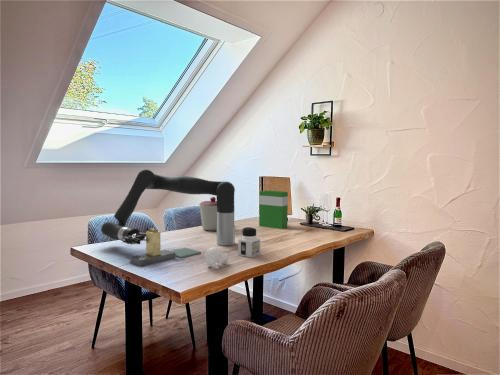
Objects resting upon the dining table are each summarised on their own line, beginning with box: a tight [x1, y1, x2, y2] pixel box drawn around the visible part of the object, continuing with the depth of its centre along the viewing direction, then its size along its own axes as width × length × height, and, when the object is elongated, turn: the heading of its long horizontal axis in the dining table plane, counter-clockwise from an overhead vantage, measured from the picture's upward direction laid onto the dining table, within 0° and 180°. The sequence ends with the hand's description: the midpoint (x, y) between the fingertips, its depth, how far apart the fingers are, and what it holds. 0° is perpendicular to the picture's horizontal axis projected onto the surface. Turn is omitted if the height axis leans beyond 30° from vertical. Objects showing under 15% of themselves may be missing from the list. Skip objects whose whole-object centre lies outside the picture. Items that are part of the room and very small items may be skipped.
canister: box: [198, 196, 217, 232], centre depth 232 cm, size 18×18×21 cm
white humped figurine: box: [204, 246, 230, 270], centre depth 153 cm, size 6×8×12 cm
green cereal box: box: [258, 189, 289, 230], centre depth 243 cm, size 18×7×24 cm, turn 56°
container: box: [237, 226, 261, 258], centre depth 171 cm, size 8×8×13 cm
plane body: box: [129, 249, 176, 267], centre depth 160 cm, size 18×8×2 cm, turn 139°
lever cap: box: [145, 227, 162, 257], centre depth 160 cm, size 4×5×14 cm
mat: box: [170, 247, 202, 259], centre depth 173 cm, size 12×12×1 cm
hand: (148, 240), depth 162 cm, fingers open, 8 cm apart
